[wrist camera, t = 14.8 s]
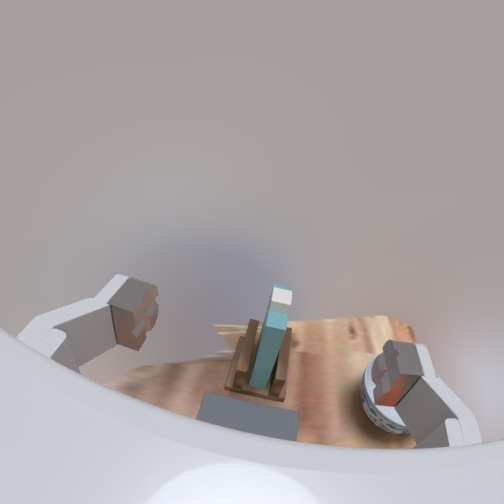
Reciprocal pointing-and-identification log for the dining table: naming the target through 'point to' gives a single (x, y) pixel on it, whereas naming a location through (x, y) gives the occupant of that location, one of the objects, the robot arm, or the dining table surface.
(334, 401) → the dining table surface
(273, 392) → the rack
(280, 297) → the teal rectangular block
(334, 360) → the dining table surface
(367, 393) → the chinaware
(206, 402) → the mat
